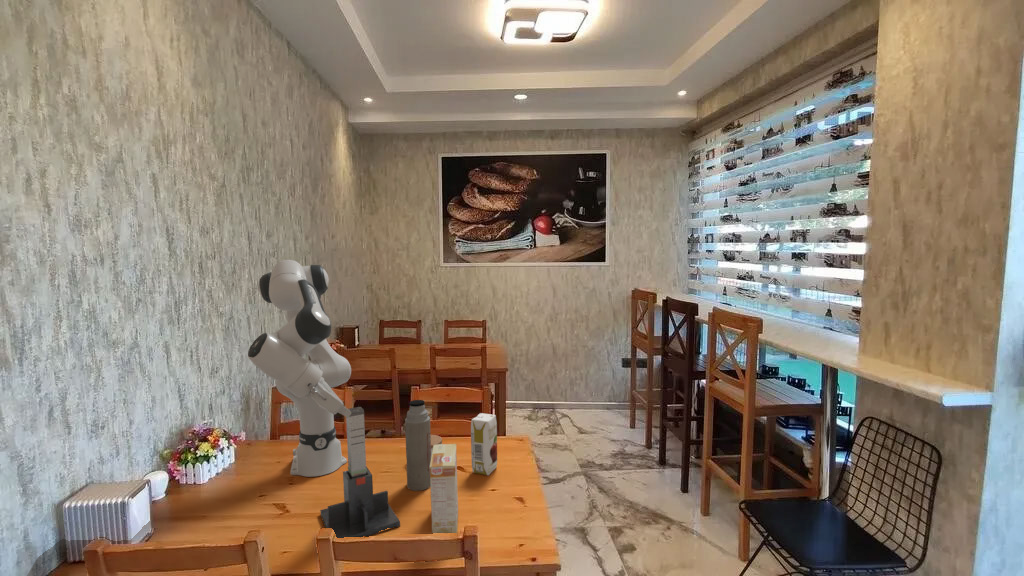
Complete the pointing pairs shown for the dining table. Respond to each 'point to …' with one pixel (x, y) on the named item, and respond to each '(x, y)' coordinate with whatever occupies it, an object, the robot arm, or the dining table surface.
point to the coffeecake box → (444, 488)
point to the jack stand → (360, 509)
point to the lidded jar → (435, 441)
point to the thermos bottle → (418, 446)
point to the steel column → (356, 443)
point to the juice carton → (484, 443)
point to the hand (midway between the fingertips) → (345, 409)
